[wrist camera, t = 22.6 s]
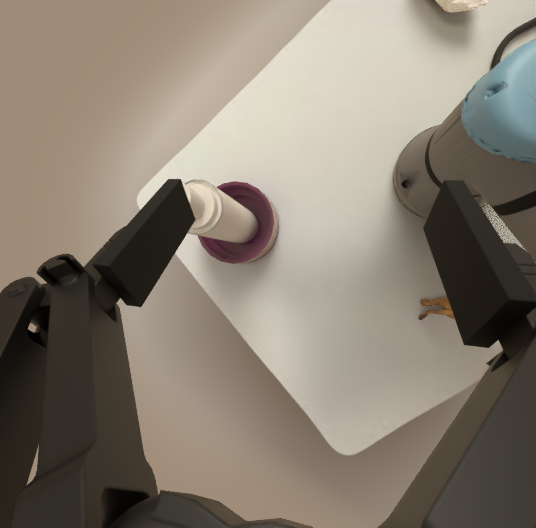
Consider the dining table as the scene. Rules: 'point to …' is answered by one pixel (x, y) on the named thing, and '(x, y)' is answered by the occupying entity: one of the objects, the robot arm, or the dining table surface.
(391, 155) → the dining table surface
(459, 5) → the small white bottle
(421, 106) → the dining table surface
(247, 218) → the spray bottle
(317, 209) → the dining table surface
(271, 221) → the bowl
